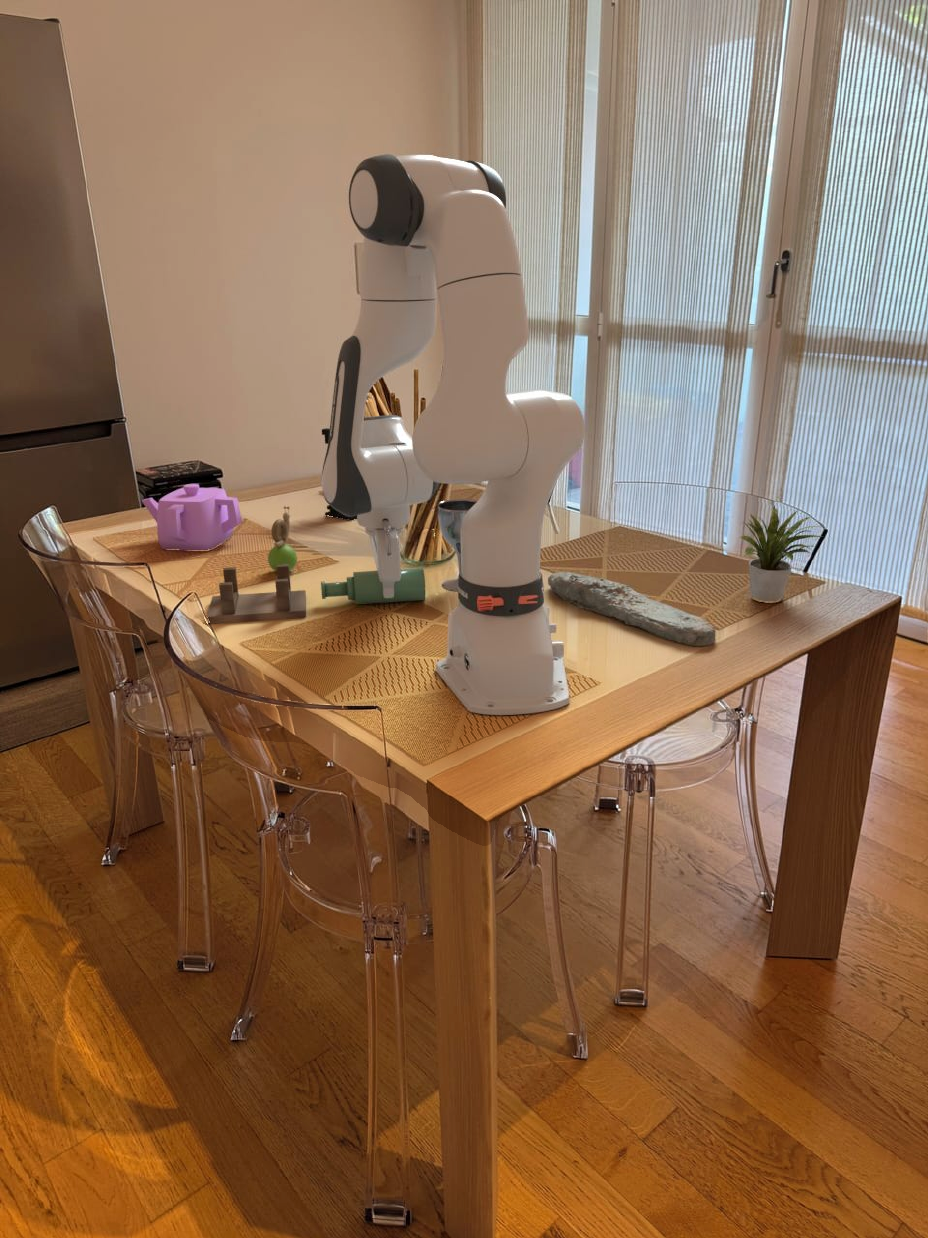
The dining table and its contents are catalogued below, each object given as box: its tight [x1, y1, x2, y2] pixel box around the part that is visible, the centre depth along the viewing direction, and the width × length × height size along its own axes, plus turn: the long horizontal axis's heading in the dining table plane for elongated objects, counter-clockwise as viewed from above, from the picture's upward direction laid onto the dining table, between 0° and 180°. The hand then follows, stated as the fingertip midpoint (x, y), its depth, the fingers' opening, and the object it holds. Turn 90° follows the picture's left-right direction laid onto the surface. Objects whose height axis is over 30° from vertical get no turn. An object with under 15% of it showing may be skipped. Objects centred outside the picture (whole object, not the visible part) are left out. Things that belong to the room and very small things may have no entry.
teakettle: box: [141, 483, 243, 550], centre depth 190 cm, size 17×17×12 cm
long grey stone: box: [547, 571, 717, 647], centre depth 150 cm, size 35×5×10 cm
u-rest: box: [206, 564, 307, 625], centre depth 153 cm, size 16×10×6 cm, turn 99°
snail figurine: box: [267, 505, 298, 572], centre depth 171 cm, size 5×6×12 cm
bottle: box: [320, 567, 426, 605], centre depth 156 cm, size 18×6×6 cm
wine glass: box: [437, 498, 478, 592], centre depth 162 cm, size 8×8×15 cm
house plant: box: [739, 505, 824, 601], centre depth 153 cm, size 14×14×16 cm
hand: (386, 589), depth 157 cm, fingers closed on bottle, 6 cm apart
